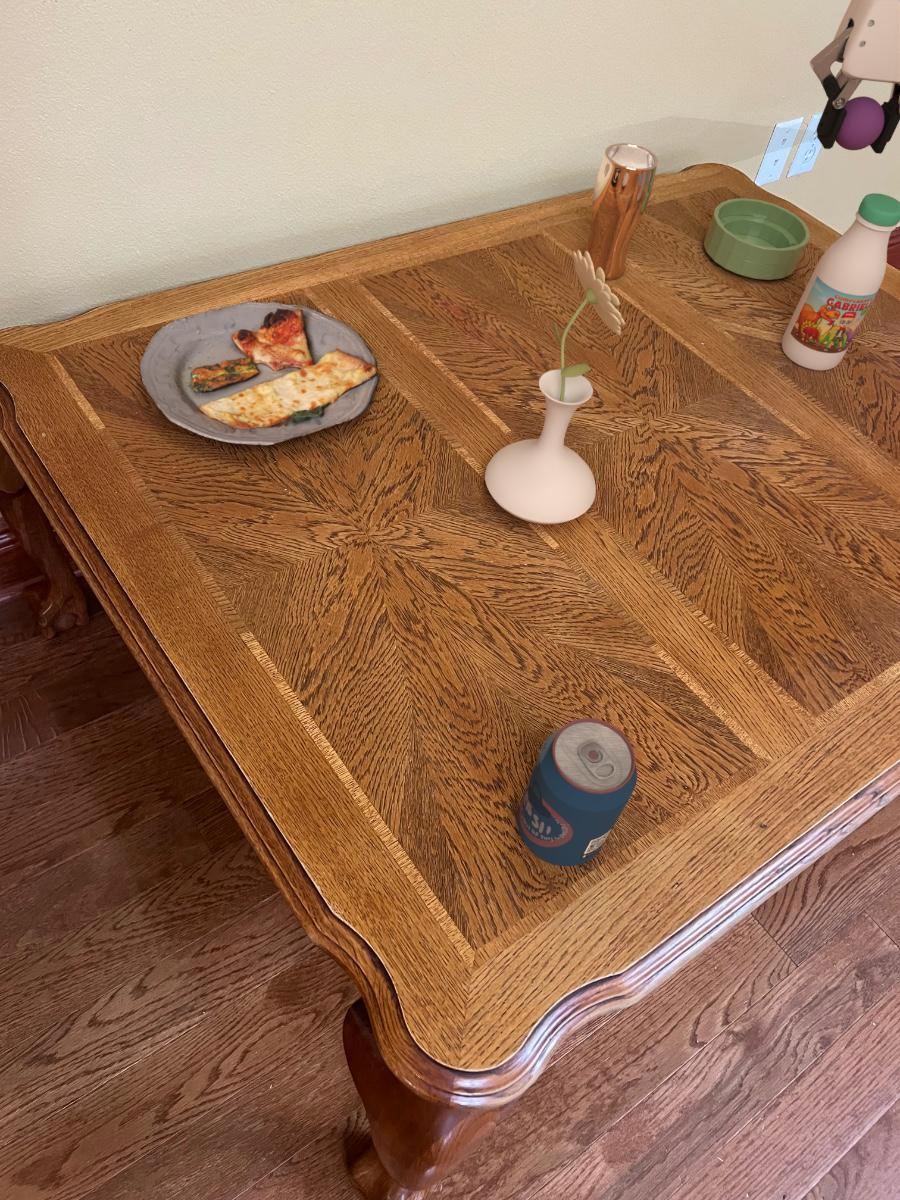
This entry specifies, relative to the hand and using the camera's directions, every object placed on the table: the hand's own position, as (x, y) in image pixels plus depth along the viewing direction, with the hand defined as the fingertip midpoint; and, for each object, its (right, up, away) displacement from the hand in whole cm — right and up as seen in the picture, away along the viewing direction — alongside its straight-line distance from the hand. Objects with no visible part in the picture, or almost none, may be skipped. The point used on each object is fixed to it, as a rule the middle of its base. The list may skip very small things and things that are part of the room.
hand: (849, 143), depth 99 cm
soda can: (-34, -66, -26) cm, 79 cm away
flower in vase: (-33, -37, -2) cm, 50 cm away
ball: (0, +1, -2) cm, 2 cm away
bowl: (0, 0, +32) cm, 33 cm away
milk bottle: (+3, -17, +19) cm, 26 cm away
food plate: (-63, -25, +3) cm, 67 cm away
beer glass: (-22, -4, +26) cm, 35 cm away
